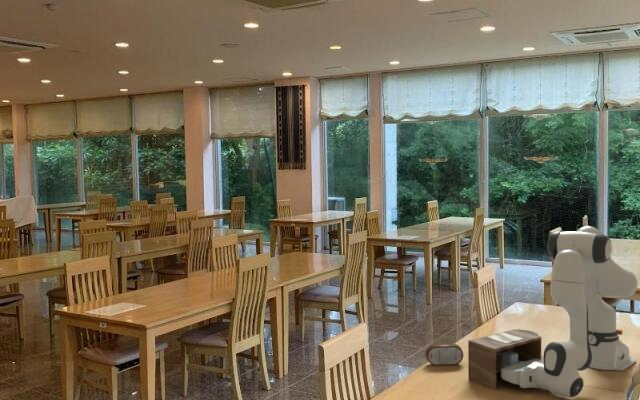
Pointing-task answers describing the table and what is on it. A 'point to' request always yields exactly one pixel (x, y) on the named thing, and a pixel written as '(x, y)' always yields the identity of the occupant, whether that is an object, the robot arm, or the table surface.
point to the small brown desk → (499, 354)
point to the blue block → (509, 358)
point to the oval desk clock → (444, 354)
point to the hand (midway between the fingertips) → (508, 364)
